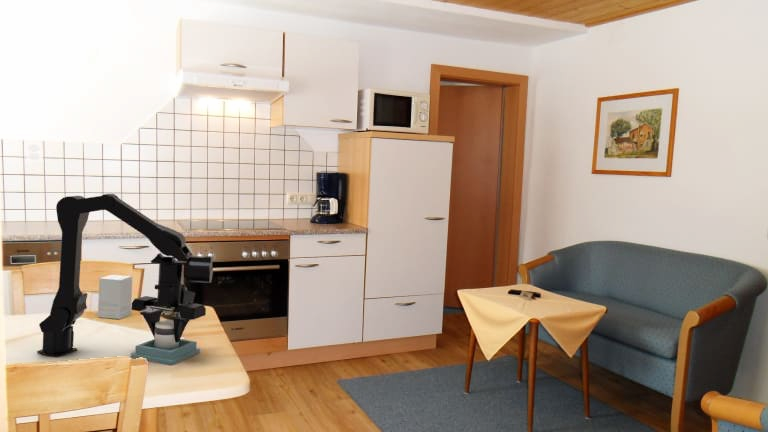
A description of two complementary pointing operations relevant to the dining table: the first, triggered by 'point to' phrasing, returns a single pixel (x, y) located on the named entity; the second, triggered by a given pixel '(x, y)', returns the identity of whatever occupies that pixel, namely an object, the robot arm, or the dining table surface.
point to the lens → (165, 335)
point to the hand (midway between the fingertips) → (166, 340)
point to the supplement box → (115, 296)
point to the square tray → (166, 352)
